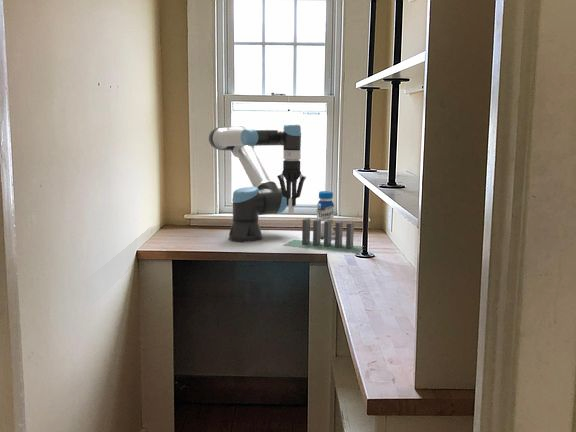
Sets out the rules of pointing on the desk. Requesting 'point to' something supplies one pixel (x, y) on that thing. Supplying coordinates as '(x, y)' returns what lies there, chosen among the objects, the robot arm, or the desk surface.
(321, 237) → the die
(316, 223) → the domino
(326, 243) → the domino
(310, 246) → the mat
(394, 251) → the desk surface
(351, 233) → the domino
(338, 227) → the domino
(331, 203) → the beverage bottle
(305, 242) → the domino
